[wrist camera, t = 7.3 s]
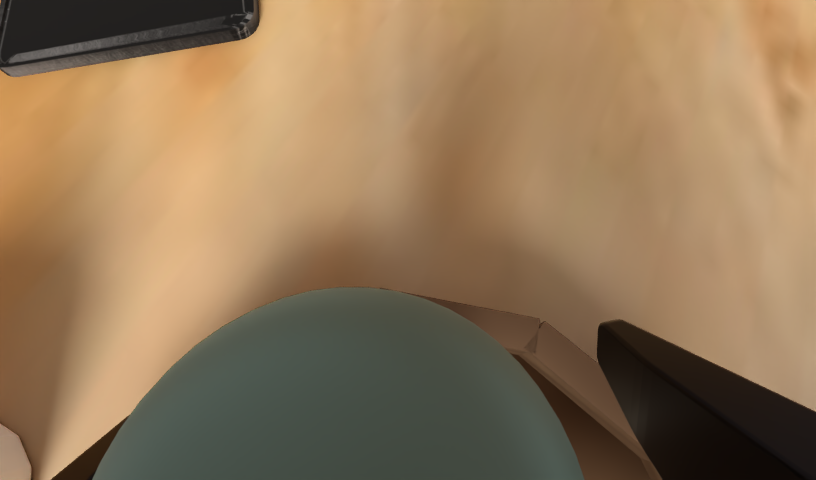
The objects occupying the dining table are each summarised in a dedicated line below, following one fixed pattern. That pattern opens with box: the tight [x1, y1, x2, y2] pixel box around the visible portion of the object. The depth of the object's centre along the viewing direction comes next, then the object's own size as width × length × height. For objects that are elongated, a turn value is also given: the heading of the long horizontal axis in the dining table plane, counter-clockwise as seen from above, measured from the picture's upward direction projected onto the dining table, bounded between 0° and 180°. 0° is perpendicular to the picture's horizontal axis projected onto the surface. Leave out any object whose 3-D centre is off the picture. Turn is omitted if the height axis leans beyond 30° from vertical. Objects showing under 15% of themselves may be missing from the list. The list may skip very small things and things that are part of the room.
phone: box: [0, 0, 259, 77], centre depth 25 cm, size 8×1×15 cm
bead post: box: [92, 287, 584, 480], centre depth 9 cm, size 5×5×15 cm
